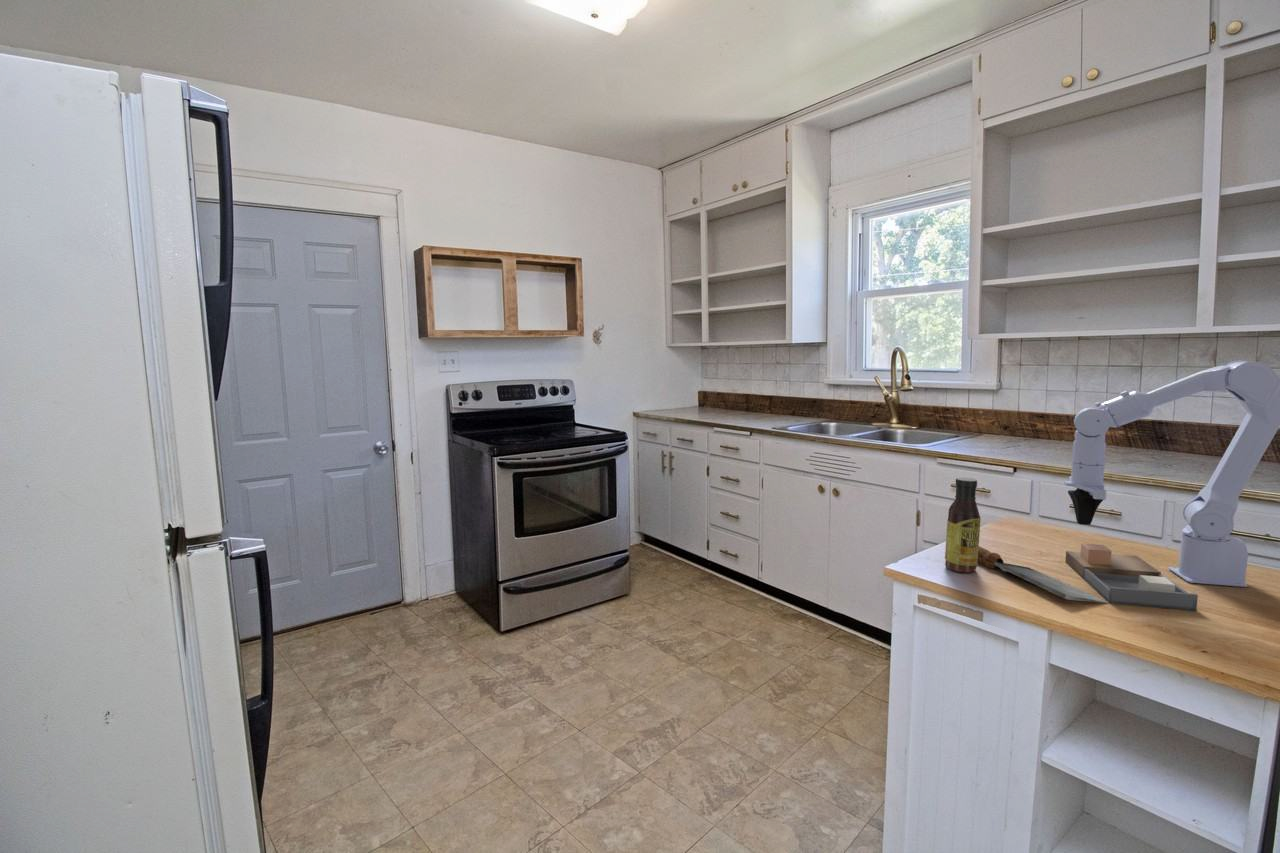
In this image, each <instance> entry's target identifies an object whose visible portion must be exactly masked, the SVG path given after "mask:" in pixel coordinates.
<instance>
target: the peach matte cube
mask: <svg viewBox="0 0 1280 853" xmlns="http://www.w3.org/2000/svg"><path fill="white" fill-rule="evenodd" d="M1080 552H1081V553H1080V557H1081V558H1082V559H1083V560H1084V561H1086V562H1087V563H1091V564H1105V565H1111V554H1112V552H1113V551H1112V550H1111V549H1109V547H1107V546H1106V545H1104V544H1098V543H1096V544H1095V543H1080Z"/></svg>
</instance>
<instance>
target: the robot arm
mask: <svg viewBox="0 0 1280 853" xmlns="http://www.w3.org/2000/svg"><path fill="white" fill-rule="evenodd" d="M1201 392H1220V393H1221V392H1222V393H1223V392H1224V393H1226V392H1229V393H1230V394H1232V395H1233V396H1234V397H1236V398H1237V399H1238V402H1239V403H1240V405H1241V406H1242V407H1243V408H1244V410H1245V412H1246V414H1245V416H1244V418H1243V420H1242V421H1241V423H1240V425H1239V426H1238V428H1237V430H1236V432H1235V434H1234V436H1233V437H1232V440H1231V442H1230V444H1229V445H1228V447H1227V449H1226V450H1225V452H1224V454H1222V458H1221V459H1220V461H1219V462H1218V465H1217V467H1215V468H1216V469H1215V470H1214V471H1213V473H1212V475H1211V477H1210V478H1209V480H1208V483H1207V484H1206V485H1205V486H1204V487H1203V488H1201V490H1199V492H1198V494H1197V495H1196V497H1195V498H1193V499H1191V500H1190V501H1188V502H1187V503H1186V504H1185V505H1184V507H1183V508H1182V517H1183V518H1184V520H1185V521H1186V522H1187V525H1186V526H1185V527H1184V528H1182V529H1181V537H1180V538H1181V539H1180V547H1179V548H1180V549H1179V559H1178V567H1177V566H1176V567H1175V566H1174V567H1173V566H1168V570H1169V571H1171V572H1172V573H1174V574H1175V575H1177V576H1178V577H1179V578H1181V579H1182V580H1184V581H1185V582H1188V583H1192V584H1203V585H1204V584H1206V585H1216V586H1229V587H1230V586H1232V587H1245V588H1247V587H1248V583H1246V576H1247V568H1248V559H1249V555H1248V554H1249V552H1248V551H1249V550H1248V548H1247V545H1246V543H1245V542H1244V541H1243V540H1242V539H1241V538H1239V537H1234V536H1231V535H1230V534H1231V533H1232V532H1233V530H1234V527H1235V523H1234V516H1235V514H1236V512H1237V511H1238V504H1239V497H1240V496H1241V494H1242V492H1243V490H1244V489H1245V487H1246V485H1247V484H1248V482H1249V480H1250V478H1251V477H1252V475H1253V473H1254V472H1255V470H1256V468H1257V466H1258V464H1259V463H1260V462H1261V459H1262V457H1263V456H1264V454H1265V453H1266V451H1267V449H1268V447H1269V446H1270V444H1271V443H1272V440H1273V439H1274V438H1275V435H1276V434H1277V432H1278V430H1279V429H1280V376H1279V375H1278V374H1277V373H1276V371H1275V370H1274V369H1273V368H1272V367H1271V366H1270V365H1268V364H1266V363H1264V362H1261V361H1250V360H1241V359H1240V360H1235V361H1231V362H1229V363H1227V364H1226V365H1218V366H1214V367H1211V368H1206V369H1204V370H1201V371H1198V372H1196V373H1193V374H1191V375H1189V376H1188V375H1187V376H1186V377H1182V378H1181V379H1178V380H1175V381H1174V382H1170V383H1168V384H1166V385H1163V386H1160V387H1158V388H1156V389H1153V390H1151V391H1148V392H1141V391H1138V390H1132V391H1130V392H1129V391H1128V390H1125V391H1122V392H1120V393H1119V394H1120V395H1119V396H1117V397H1115V398H1111V399H1110V400H1106V401H1103V402H1100V401H1098V402H1095V403H1094V406H1095V407H1085V408H1083V409H1081V410H1079V411H1078V412H1077V414H1076V415H1075V417H1074V419H1073V425H1074V427H1075V428H1076V430H1075V432H1074V436H1073V438H1074V440H1073V445H1072V458H1071V472H1070V473H1071V474H1070V476H1069V475H1068V481H1067V480H1065V481H1064V482H1063V484H1064V486H1066V487H1073V488H1076V489H1075V490H1074V489H1072V490H1071V489H1070V490H1068V491H1067V494H1068V495H1069V497H1070V500H1071V502H1072V504H1073V509H1074V514H1075V520H1076V522H1077V524H1078V525H1085V526H1086V525H1087V526H1091V525H1092V522H1093V519H1094V517H1095V514H1096V511H1097V510H1098V508H1099V506H1100V505H1101V504H1102V502H1103V501H1105V500H1107V490H1105V484H1104V477H1105V476H1104V475H1105V465H1106V451H1107V450H1106V449H1107V443H1106V433H1107V432H1108V430H1109V428H1113V429H1114V428H1118V427H1121V426H1124V425H1127V424H1130V423H1133V422H1136V421H1138V420H1141V419H1144V418H1146V417H1150V415H1151V413H1152V412H1153V410H1154V409H1155V407H1158V406H1161V405H1164V404H1168V403H1170V402H1174V401H1177V400H1180V399H1182V398H1186V397H1189V396H1192V395H1195V394H1197V393H1201Z"/></svg>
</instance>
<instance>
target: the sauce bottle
mask: <svg viewBox="0 0 1280 853" xmlns="http://www.w3.org/2000/svg"><path fill="white" fill-rule="evenodd" d="M977 487H978V480H977V479H975V478H973V477H972V478H971V477H956V478H955V488H956V489H955V500H954V501H953V502H952V503H951V504H950V506H949V508H948V517H947V521H946V522H947V523H946V524H947V525H946V538H945V552H944V559H945V563H944V565H945V567H946V568H947V569H949V571H953V572H957V573H964V574H965V573H968V574H969V573H973V572H975V571H976V570H977V566H978V548H979V544H980V533H981V532H980V531H981V521H982V520H981V516H980V512H979V509H978V505H977V501H976V499H977V498H976V492H977Z"/></svg>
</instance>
